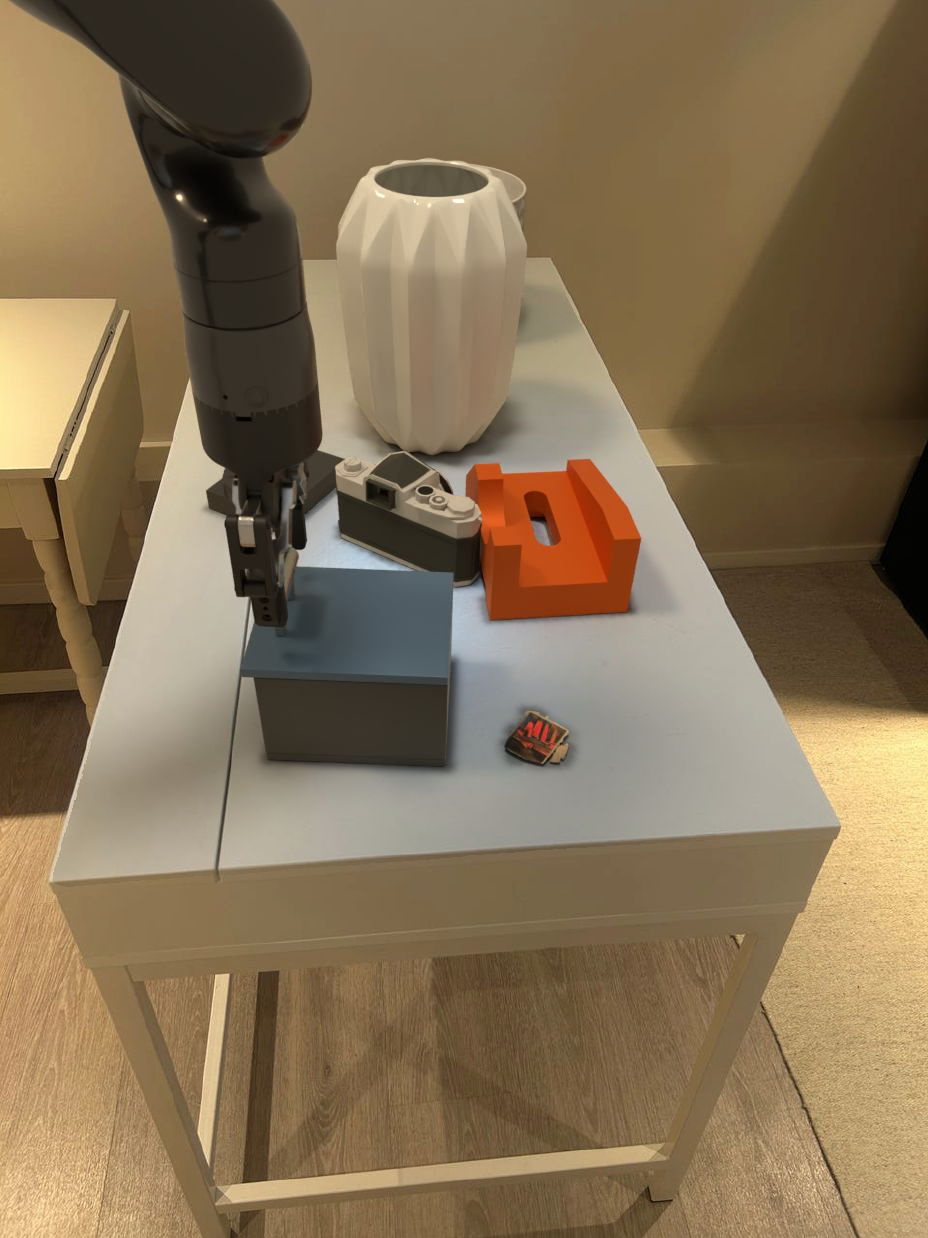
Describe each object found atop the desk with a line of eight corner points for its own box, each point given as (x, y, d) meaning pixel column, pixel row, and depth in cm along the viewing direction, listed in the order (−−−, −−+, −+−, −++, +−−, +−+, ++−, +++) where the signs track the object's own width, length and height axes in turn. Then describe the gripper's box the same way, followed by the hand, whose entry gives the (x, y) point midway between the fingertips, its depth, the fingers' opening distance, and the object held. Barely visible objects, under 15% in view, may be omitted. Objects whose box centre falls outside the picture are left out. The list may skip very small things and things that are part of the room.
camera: (510, 550, 92) (517, 462, 85) (463, 597, 86) (466, 507, 80) (379, 497, 98) (376, 411, 91) (327, 537, 92) (319, 449, 86)
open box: (266, 759, 71) (253, 678, 65) (291, 654, 80) (281, 573, 74) (445, 766, 71) (447, 686, 65) (451, 660, 80) (453, 580, 74)
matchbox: (501, 754, 72) (501, 750, 72) (520, 708, 76) (520, 704, 75) (559, 771, 71) (560, 767, 71) (576, 724, 75) (577, 720, 74)
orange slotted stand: (627, 611, 85) (641, 538, 80) (489, 620, 84) (494, 545, 78) (584, 499, 99) (593, 429, 93) (465, 505, 97) (467, 434, 92)
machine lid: (241, 677, 65) (231, 619, 62) (271, 573, 74) (263, 517, 70) (447, 685, 65) (449, 628, 62) (453, 580, 74) (455, 524, 70)
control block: (278, 537, 92) (274, 503, 89) (205, 510, 95) (199, 477, 92) (347, 476, 101) (345, 444, 98) (278, 454, 103) (275, 421, 101)
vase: (369, 487, 99) (356, 220, 81) (329, 400, 113) (311, 155, 95) (539, 460, 104) (564, 202, 86) (481, 379, 118) (492, 143, 99)
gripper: (218, 323, 62) (250, 523, 73) (160, 436, 51) (207, 650, 62) (332, 327, 62) (346, 526, 72) (298, 440, 51) (321, 654, 62)
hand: (282, 583), depth 67 cm, fingers open, 8 cm apart
